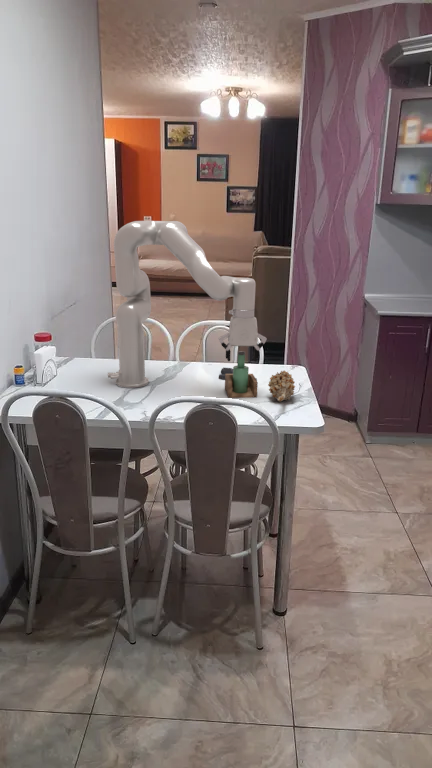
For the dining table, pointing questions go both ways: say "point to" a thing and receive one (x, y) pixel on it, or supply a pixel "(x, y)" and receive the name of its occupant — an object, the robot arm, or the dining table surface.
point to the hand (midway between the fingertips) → (241, 360)
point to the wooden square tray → (250, 394)
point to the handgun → (226, 371)
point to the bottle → (240, 375)
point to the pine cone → (282, 385)
